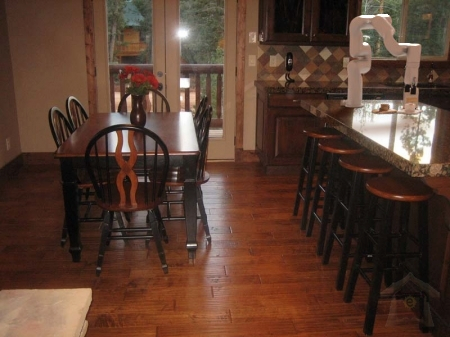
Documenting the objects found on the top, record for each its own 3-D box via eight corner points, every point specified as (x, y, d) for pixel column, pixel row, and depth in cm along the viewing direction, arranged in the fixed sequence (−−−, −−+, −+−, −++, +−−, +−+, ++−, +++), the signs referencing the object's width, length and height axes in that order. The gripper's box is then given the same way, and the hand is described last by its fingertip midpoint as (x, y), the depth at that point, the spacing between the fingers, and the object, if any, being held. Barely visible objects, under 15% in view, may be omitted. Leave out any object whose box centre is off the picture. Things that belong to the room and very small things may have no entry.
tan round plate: (367, 112, 293) (368, 104, 292) (377, 109, 304) (377, 101, 303) (391, 114, 284) (391, 106, 282) (400, 111, 294) (400, 103, 293)
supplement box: (415, 107, 305) (416, 87, 301) (417, 108, 300) (419, 88, 297) (402, 108, 306) (403, 88, 302) (404, 109, 301) (405, 88, 298)
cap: (403, 110, 291) (403, 103, 289) (412, 109, 290) (413, 102, 289) (406, 111, 285) (407, 104, 284) (416, 111, 285) (417, 103, 283)
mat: (396, 113, 287) (396, 111, 287) (403, 110, 296) (403, 108, 296) (416, 114, 280) (416, 112, 279) (423, 111, 288) (423, 110, 288)
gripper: (401, 64, 289) (398, 91, 294) (412, 66, 272) (409, 95, 277) (413, 63, 288) (410, 91, 294) (424, 66, 272) (421, 95, 277)
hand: (409, 93), depth 285 cm, fingers open, 9 cm apart
